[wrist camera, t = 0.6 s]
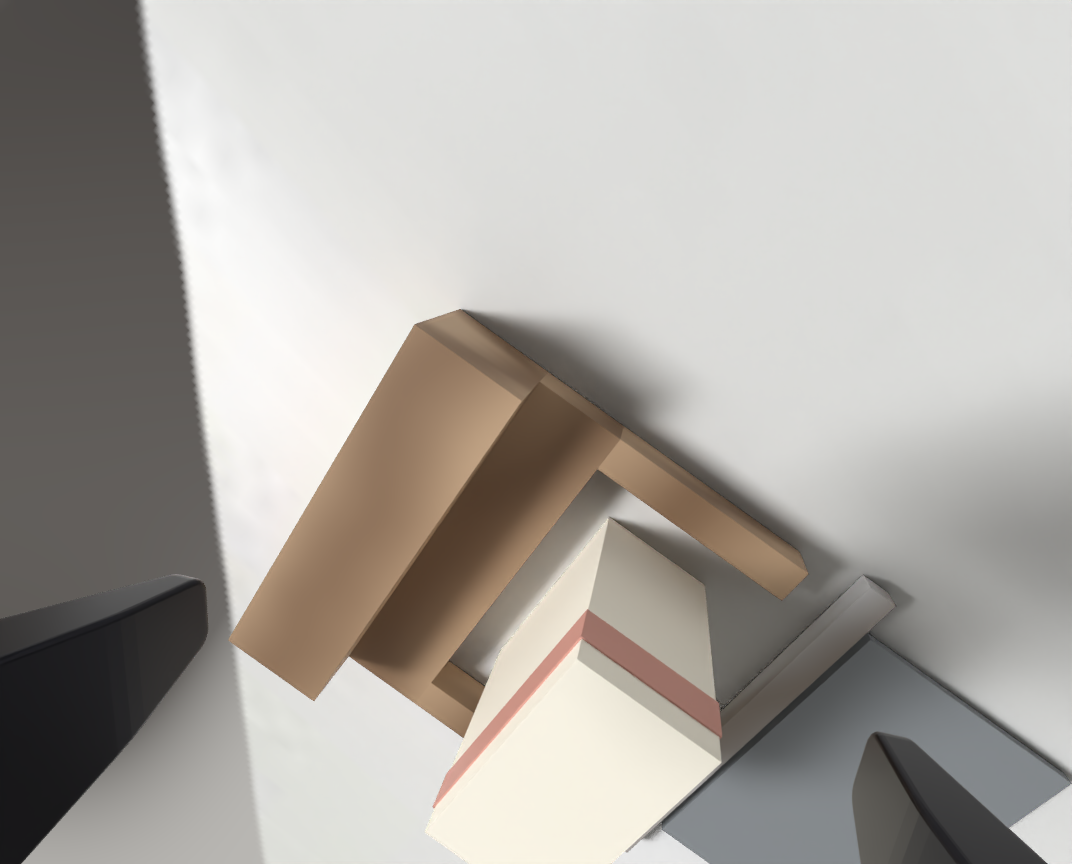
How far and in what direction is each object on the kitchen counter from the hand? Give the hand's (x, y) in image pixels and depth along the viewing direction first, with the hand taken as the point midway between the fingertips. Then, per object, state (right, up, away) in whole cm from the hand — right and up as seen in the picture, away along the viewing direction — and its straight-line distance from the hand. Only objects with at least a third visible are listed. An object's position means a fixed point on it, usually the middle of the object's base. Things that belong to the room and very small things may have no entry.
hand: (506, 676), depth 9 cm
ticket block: (+3, -3, +15) cm, 15 cm away
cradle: (+1, -3, +15) cm, 15 cm away
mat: (+11, -10, +15) cm, 21 cm away
